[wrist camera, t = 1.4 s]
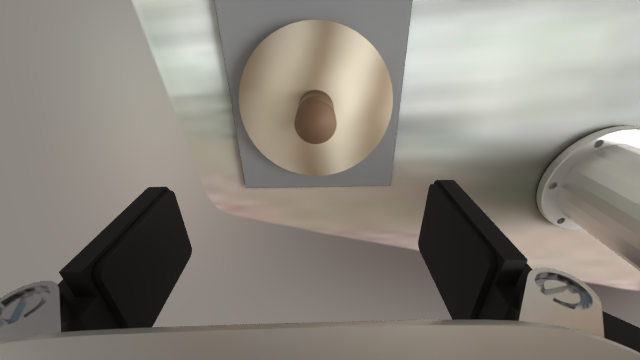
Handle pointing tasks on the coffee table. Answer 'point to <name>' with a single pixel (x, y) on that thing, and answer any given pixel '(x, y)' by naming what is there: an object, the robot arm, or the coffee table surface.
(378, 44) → the mat
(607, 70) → the coffee table surface
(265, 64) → the lid
